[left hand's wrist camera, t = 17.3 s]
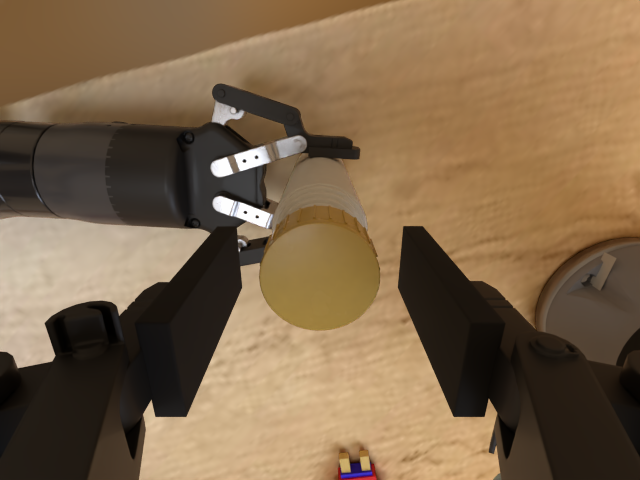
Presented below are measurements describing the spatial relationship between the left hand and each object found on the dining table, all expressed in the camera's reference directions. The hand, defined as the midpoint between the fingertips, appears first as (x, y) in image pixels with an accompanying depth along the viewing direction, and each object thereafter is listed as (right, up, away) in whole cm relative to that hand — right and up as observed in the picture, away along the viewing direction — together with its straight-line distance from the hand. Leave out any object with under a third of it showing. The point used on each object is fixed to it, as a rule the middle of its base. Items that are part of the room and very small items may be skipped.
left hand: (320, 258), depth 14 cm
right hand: (+3, +5, +13) cm, 14 cm away
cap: (0, -1, -1) cm, 2 cm away
